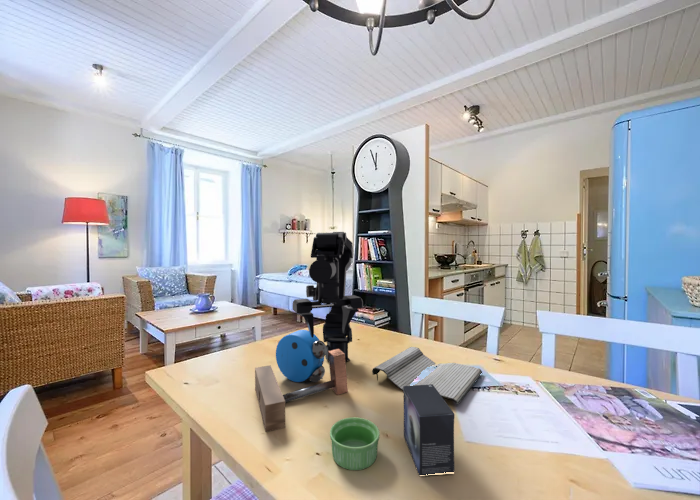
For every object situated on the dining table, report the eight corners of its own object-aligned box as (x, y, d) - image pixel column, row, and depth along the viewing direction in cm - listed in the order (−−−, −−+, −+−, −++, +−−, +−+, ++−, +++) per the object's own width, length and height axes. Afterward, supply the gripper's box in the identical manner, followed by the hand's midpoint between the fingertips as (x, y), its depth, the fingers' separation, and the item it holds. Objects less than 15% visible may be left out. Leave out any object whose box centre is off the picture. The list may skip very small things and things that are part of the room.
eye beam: (270, 385, 81) (270, 365, 81) (285, 427, 63) (285, 401, 63) (255, 388, 80) (255, 367, 80) (265, 432, 61) (265, 405, 61)
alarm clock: (286, 366, 92) (328, 382, 85) (272, 374, 86) (315, 391, 79) (289, 324, 91) (332, 336, 84) (275, 329, 86) (319, 343, 79)
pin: (341, 384, 81) (338, 348, 80) (347, 391, 77) (344, 353, 77) (280, 404, 74) (276, 364, 74) (283, 412, 71) (279, 370, 70)
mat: (458, 412, 70) (458, 391, 69) (371, 383, 84) (371, 366, 84) (483, 376, 88) (483, 360, 88) (409, 358, 102) (409, 344, 102)
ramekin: (383, 472, 51) (383, 446, 51) (330, 475, 50) (330, 449, 50) (375, 438, 60) (375, 416, 60) (329, 440, 59) (329, 418, 59)
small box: (401, 436, 60) (401, 384, 60) (433, 435, 61) (433, 383, 60) (417, 478, 49) (417, 414, 49) (456, 475, 50) (456, 412, 50)
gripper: (348, 274, 94) (348, 324, 94) (288, 276, 87) (288, 331, 87) (363, 278, 84) (363, 334, 84) (297, 281, 76) (297, 342, 77)
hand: (328, 335), depth 83 cm, fingers open, 9 cm apart
